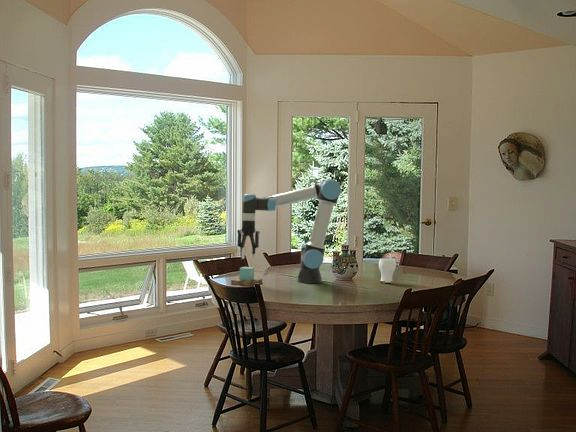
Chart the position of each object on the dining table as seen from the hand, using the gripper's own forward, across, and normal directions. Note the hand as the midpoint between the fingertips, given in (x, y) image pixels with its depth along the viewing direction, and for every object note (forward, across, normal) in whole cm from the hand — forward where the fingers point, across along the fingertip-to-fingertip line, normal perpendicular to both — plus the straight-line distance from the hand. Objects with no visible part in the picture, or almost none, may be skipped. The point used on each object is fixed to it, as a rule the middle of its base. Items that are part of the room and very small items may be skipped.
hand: (247, 259), depth 371 cm
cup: (+15, -74, -49) cm, 90 cm away
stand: (+15, 0, 0) cm, 15 cm away
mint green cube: (+12, 0, 0) cm, 12 cm away
